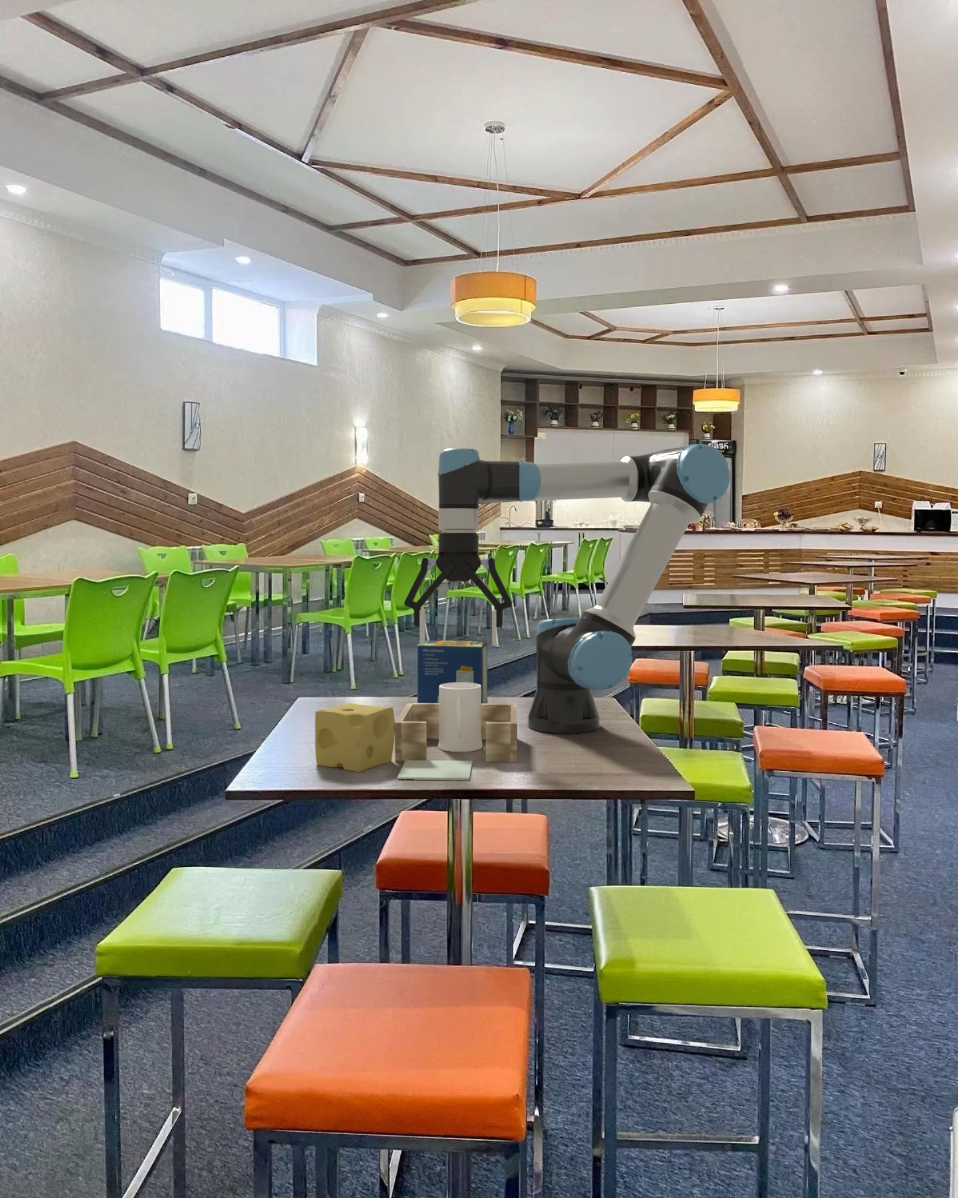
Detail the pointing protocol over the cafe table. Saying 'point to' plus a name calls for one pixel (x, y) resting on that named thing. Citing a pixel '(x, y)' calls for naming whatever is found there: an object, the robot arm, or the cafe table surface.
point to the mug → (460, 717)
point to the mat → (435, 770)
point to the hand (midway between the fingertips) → (458, 644)
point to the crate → (424, 724)
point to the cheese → (354, 736)
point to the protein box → (450, 667)
